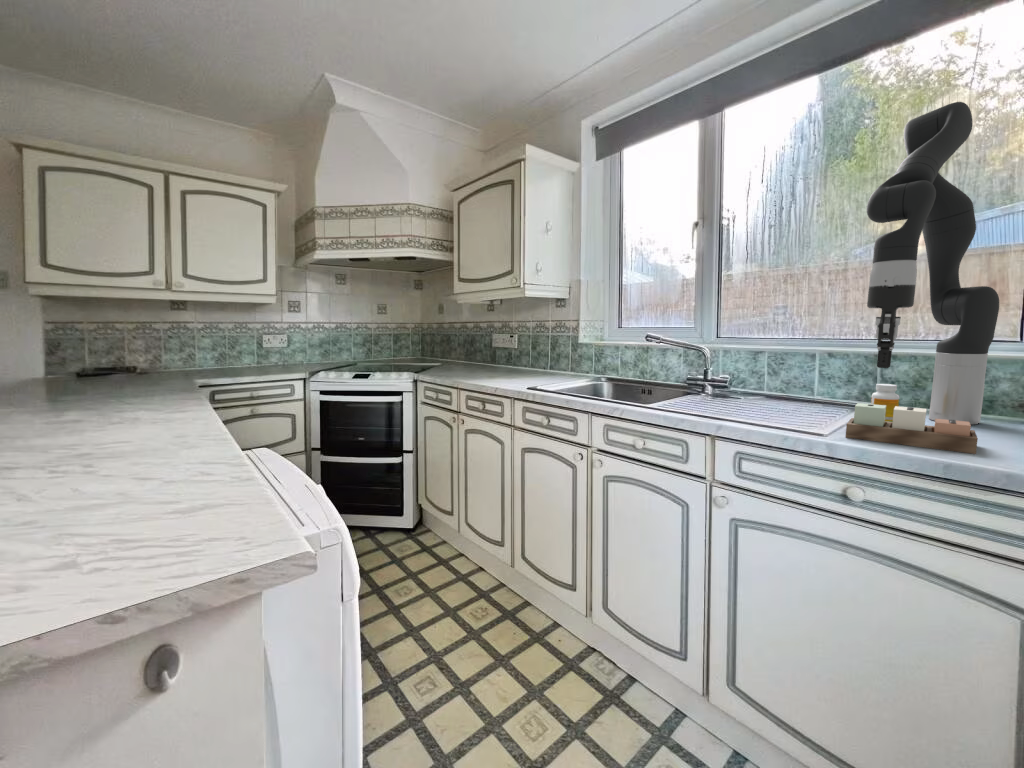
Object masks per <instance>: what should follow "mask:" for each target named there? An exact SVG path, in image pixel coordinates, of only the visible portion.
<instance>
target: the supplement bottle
mask: <svg viewBox="0 0 1024 768" xmlns="http://www.w3.org/2000/svg"><path fill="white" fill-rule="evenodd" d="M875 390H876V391H875V392H872V394H871V399H870V404H875V405H886V414H885V421H889V422H893V413H894V408H895V406H898V407H900V395H899V394H897V391H898V385H897V384H890V383H876V384H875Z"/></svg>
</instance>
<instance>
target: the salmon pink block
mask: <svg viewBox="0 0 1024 768" xmlns="http://www.w3.org/2000/svg"><path fill="white" fill-rule="evenodd" d="M933 426H934V432H935V433H944V434H953V435H962V436H970V430H971V426H972V424H970V422H966V421H956V420H945V419H935V420H934V425H933Z"/></svg>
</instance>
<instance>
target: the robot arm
mask: <svg viewBox="0 0 1024 768" xmlns="http://www.w3.org/2000/svg"><path fill="white" fill-rule="evenodd" d="M972 130H973V115H972V111H971V109H970V107H969V106H968V104H967V103H965V102H964V101H956V102H952V103H951V102H950V103H947V104H946V105H943V106H941V107H938V108H937V109H934V110H931V111H929V112H926V113H924V114H922V115H919V116H917V117H914V118H913V119H910V120H909V121H908V122H906V124H905V125H904V128H903V142H904V147H905V151H906V156H907V157H905V158H904V160H903V161H902V162H901V163H900V164H899V166H898V167H897V169H896V171H895V172H894V174H893V175H892V176H890V177H889V178H888V179H886V180H885V181H884V182H883V183H882V184H880V185H879V186H877V188H876V189H875V190H874V191H873V192H872V193H871V195H870V197H869V199H868V201H867V203H866V215H867V217H868V218H869V219H870V220H871V221H872V222H874V223H877V224H883V223H891V222H899V221H904V220H906V221H905V222H904V224H903V225H902V226H901V227H900V228H897V229H895V230H892V231H889V232H886V233H884V234H881V235H879V236H878V237H877V238H876V239H875V241H874V247H873V257H872V264H871V271H870V273H869V282H868V284H869V285H868V291H867V292H868V293H867V303H866V304H867V305H866V306H867V308H869V309H881V313H880V314H881V315H880V316H876V317H875V326H876V333H875V338H876V339H877V343H876V349H877V352H878V353H877V360H876V361H877V362H876V367H877V368H878V369H879V368H880V369H889V368H890V367H891V365H892V364H891V362H892V353H893V349H894V347H895V342H894V341H895V339H897V338H898V334H899V333H898V332H899V326H900V325H901V319H902V317H901V316H897V310H898V309H905V308H908V309H909V308H912V307H914V304H915V294H916V284H917V276H918V269H917V266H918V265H917V262H918V261H917V260H918V251H919V241H920V238H921V234H922V236H923V237H922V238H923V240H924V246H925V252H926V258H927V266H928V274H929V275H928V277H929V296H930V309H931V314H932V317H933V318H934V320H935V321H936V322H937V323H938V324H940V325H943V326H960V327H959V329H958V332H956V333H955V334H954V335H952V336H950V337H948V338H945V339H941V340H940V341H938V342H937V344H936V347H935V348H936V349H935V359H934V368H933V370H934V371H933V377H932V378H933V379H932V387H931V397H930V404H929V405H930V406H929V412H928V413H929V414H928V419H929V420H932V421H935V419H945V420H956V421H966V422H970V425H979V424H980V423H981V418H982V411H983V410H982V409H983V403H984V394H985V386H986V385H985V380H986V372H987V365H988V364H987V363H988V357H989V354H988V353H989V348H990V346H991V344H992V343H993V340H994V337H995V334H996V333H995V332H996V327H997V322H998V317H999V313H1000V298H999V294H998V292H997V291H996V290H995V289H994V288H993V287H991V286H987V285H986V286H985V285H982V286H970V287H969V286H968V287H966V286H965V287H962V286H961V283H960V271H959V270H960V266H961V262H962V260H963V258H964V256H965V255H966V252H967V251H968V250H969V247H970V246H971V244H972V241H973V240H974V237H975V236H976V235H975V234H976V231H977V222H976V215H975V210H974V209H975V208H974V203H973V201H972V200H971V198H970V197H969V195H967V194H966V193H965V192H964V191H962V190H961V189H959V187H957V186H955V185H954V184H952V183H951V182H949V180H947V179H945V178H944V176H942V175H941V173H940V170H941V169H942V167H943V166H944V165H945V164H946V162H947V161H948V160H949V159H950V158H951V157H952V156H953V155H954V154H955V153H956V152H957V151H958V149H959V148H960V147H961V146H962V145H964V143H965V142H966V141H967V140H968V138H969V137H970V135H971V133H972ZM978 423H979V424H978Z"/></svg>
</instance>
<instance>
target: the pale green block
mask: <svg viewBox="0 0 1024 768" xmlns="http://www.w3.org/2000/svg"><path fill="white" fill-rule="evenodd" d="M885 414H886V405H875V404H871V403H863V402H862V403H861V402H857V403H856V404H855V405H854V415H853V418H854V423H853V424H863V425H872V426H881V427H883V426H884V424H885Z"/></svg>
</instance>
